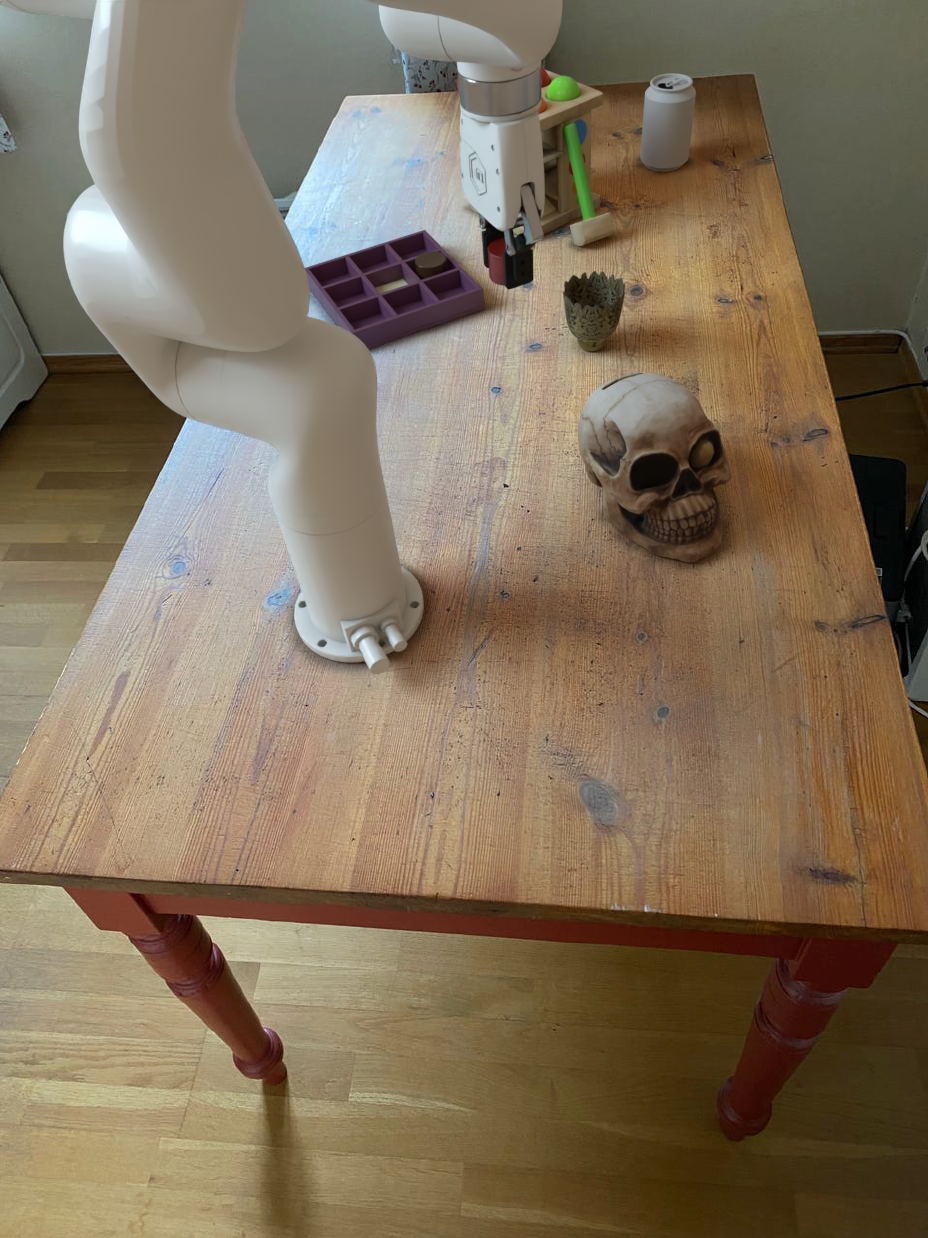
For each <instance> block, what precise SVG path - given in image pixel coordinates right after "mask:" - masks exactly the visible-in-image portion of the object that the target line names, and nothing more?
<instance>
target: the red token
mask: <svg viewBox="0 0 928 1238" xmlns="http://www.w3.org/2000/svg"><path fill="white" fill-rule="evenodd" d="M515 238H516V236H514V239H515ZM503 252H506V244H505V237H503V238H499V239H496V240H494V241H493V242H491V243H490V244H489V246H488V262H489V268H488V273H489V274H488V277H489V279H490V281H491V282H492V283H494V284H495V285H499V286H503V287H505V286H504V268H503Z"/></svg>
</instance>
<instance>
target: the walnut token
mask: <svg viewBox="0 0 928 1238" xmlns="http://www.w3.org/2000/svg"><path fill="white" fill-rule="evenodd" d="M415 265H416V273H417V276H418V277H419V278H420V279H421V280H423V279H426V278H429V277H432V276H435V275H438V274H441V273H444V272H447V266H446V257H445V255H444V254H442V253H440V252H434V251H432V252H425V253H422V254H420V255H419V256H417V257H416V259H415Z"/></svg>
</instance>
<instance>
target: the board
mask: <svg viewBox="0 0 928 1238" xmlns="http://www.w3.org/2000/svg"><path fill="white" fill-rule="evenodd" d="M432 251H434V252H440V253H442V254H444V255H445V257H446V266H447V272H444V273H441V274H438V275H435V276H432V277H429V278H426V279H423V280H421V279H420V278H419V277H418V276H417V273H416V265H415V259H416V257H417V256H419V255H420V254H422V253H425V252H432ZM305 270H306V273H307V277H308V282H309V288H310V293H311V294H312V295H313V296H314V298H315V299H316V300H317V302H318V303H319V305H320V306H321V308H322V309H323V310H324V311H325V313H326V315H328V317H329V319H330V320H331V321H332V323H333V324H334V325H337V326H340V327H342V328H344V329H346V330H347V331H349V332H351V333H352V334H354V335H355V336H356V337H357V338H359V339H360V340H361V341H362V342H363V343H364V344H365V345H366V347H367V348H368V349H369V350H371V349H373V348H375V347H378V346H381V345H385V344H387V343H390V342H393V341H396V340H399V339H402V338H405V337H408V336H411V335H413V334H416V333H419V332H422V331H425V330H427V329H428V330H429V329H431V328H435V327H437V326H440V325H443V324H445V323H448V322H451V321H455V320H457V319H460V318H462V317H466V316H468V315H471V314H474V313H477V312H481V311H482V310H485V299H484V297H485V296H484V288H483V287H482V286H481V285H480V284H479V283H478V282H477V281H476V279H474V278H473V277H472V276H471V275H470V274H469V273H468V272H467V271H466V270H465V269H464V267H462V266H461V265H460V264H459V263H458V262H457V261H456V260H455V259H454V258H453V257H452V256H451V255H450V254H449V252H448V251H446V249H444V247H442V245H440V244H439V243H438V241H436V240H435V238H433V236H432V235H430V233H429V232H427V230H426V229H423V230H419V231H416V232H414V233H410V234H406V235H404V236H401V237H398V238H395V239H392V240H388V241H385V242H382V243H379V244H376V245H373V246H368V247H365V248H363V249H360V250H357V251H353V252H349V253H347V254H344V255H341V256H338V257H335V258H331V259H328V260H325V261H322V262H318V263H316V264H312V265H310V266H306V267H305Z"/></svg>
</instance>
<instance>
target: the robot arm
mask: <svg viewBox="0 0 928 1238" xmlns="http://www.w3.org/2000/svg"><path fill="white" fill-rule="evenodd" d="M248 1H249V0H0V6H2V7H5V8H8V9H11V10H14V11H16V12H19V13H24V14H25V13H26V14H31V15H39V16H51V17H62V18H73V19H84V20H92V26H91V31H90V39H89V46H88V52H87V57H86V65H85V71H84V77H83V83H82V88H81V96H80V104H79V113H78V138H79V144H80V150H81V153H82V157H83V160H84V162H85V166H86V168H87V170H88V171H89V174H90V176H91V179H92V181H93V184H92V185H90V186H89V187H87V188H86V189H84V191H83V192H81V194H79V196H78V197H77V198H76V200H75V201H74V202H73V204H72V206H71V208H70V209H69V211H68V215H67V217H66V221H65V225H64V230H63V240H62V241H63V244H62V245H63V258H64V264H65V268H66V273H67V276H68V279H69V282H70V285H71V288H72V290H73V292H74V295H75V296H76V298H77V300H78V302H79V305H80V306H81V307H82V309H83V310H84V311H85V313H86V315H87V317H88V318H89V319H90V320H91V321H92V323H93V324H94V325H95V326H96V327H97V329H98V330H99V331H100V332H101V333H102V335H103V336H104V337H105V338H106V340H107V341H108V342H109V343H110V344H111V346H112V347H113V348H114V349H115V350H116V351H117V353H118V354H119V355H120V356H121V357H122V358H123V360H124V361H125V362H126V363H127V364H128V366H129V367H130V368H131V370H132V371H133V372H134V373H135V374H136V375H137V376H138V378H140V380H141V381H142V382H143V383H144V384H145V385H146V387H147V388H148V389H149V390H150V391H151V393H152V394H154V396H155V397H156V398H157V399H158V400H159V401H160V402H162V403H163V404H164V405H165V406H166V407H167V408H169V409H170V410H171V411H173V412H175V413H176V414H178V415H180V416H182V417H184V418H186V419H189V420H191V421H195V422H197V423H200V424H203V425H208V426H211V427H214V428H217V429H221V430H225V431H229V432H233V433H236V434H238V435H239V434H240V435H243V436H245V437H247V438H250V439H251V438H252V439H255V440H258V441H261V442H264V443H266V444H268V445H269V446H271V447H273V449H274V450H276V452H277V455H276V456H275V458H274V459H273V462H272V464H271V466H270V468H269V472H268V475H267V491H268V496H269V499H270V503H271V505H272V509H273V512H274V514H275V516H276V519H277V522H278V524H279V528H280V531H281V533H282V536H283V540H284V542H285V545H286V549H287V551H288V554H289V558H290V561H291V563H292V567H293V569H294V572H295V575H296V579H297V582H298V584H299V587H300V590H301V591H300V592H299V594H298V597H297V599H296V601H295V605H294V613H293V618H294V623H295V627H296V630H297V633H298V635H299V637H300V639H301V640H302V642H303V644H304V645H305V646H307V648H308V649H310V650H311V651H312V652H314V653H315V654H317V655H319V656H320V657H322V658H325V659H328V660H331V661H333V662H334V661H335V662H341V663H362V662H365V664H366V665H367V667H368V669H369V671H370V673H371V674H373V675H380V674H383V673H385V672H386V671H387V670H388V669H389V668H390V667H391V661H390V659H389V657H388V656H387V655H388V654H391V653H393V652H397V653H400V652H403V651H404V650H406V649H407V647H408V641H409V640H410V639H411V638H412V637H413V635H414V634H415V633H416V631H417V629H418V628H419V626H420V624H421V621H422V619H423V615H424V610H425V602H424V601H425V599H424V595H423V590H422V588H421V587H422V586H421V585H420V582H419V580H418V579H417V578H416V577H415V576H414V574H413V573H412V572H411V571H409V569H407V568H406V567H404V566H403V565H401V560H400V553H399V550H398V549H399V548H398V545H397V539H396V534H395V529H394V524H393V519H392V514H391V509H390V505H389V499H388V495H387V489H386V484H385V480H384V475H383V469H382V464H381V457H380V451H379V443H378V430H377V413H378V412H377V408H378V373H377V365H376V362H375V359H374V356H373V355H372V353H371V351H370V349H368V348H367V347H366V345H365V344H364V343H363V342H362V341H361V340H360V339H359V338H357V337H356V336H355V335H354V334H352V333H351V332H349V331H347V330H346V329H344V328H342V327H340V326H337V325H335V324H334V323H333V322H332V323H331V322H329V321H327V320H323V319H319V318H315V317H313V316H312V317H311V316H308V315H309V312H310V302H311V291H310V288H309V282H308V277H307V273H306V270H305V268H306V267H305V263H304V261H303V258H302V256H301V254H300V251H299V249H298V247H297V244H296V242H295V240H294V238H293V236H292V233H291V232H290V229H289V228H288V225H287V224H286V222H285V220H284V217H283V215H282V213H281V211H280V209H279V207H278V205H277V203H276V201H275V198H274V196H273V195H272V192H271V190H270V189H269V187H268V185H267V183H266V180H265V179H264V176H263V174H262V172H261V169H260V168H259V165H258V164H257V162H256V160H255V157H254V156H253V153H252V151H251V149H250V146H249V144H248V141H247V139H246V137H245V134H244V132H243V130H242V126H241V123H240V120H239V115H238V111H237V100H236V99H237V98H236V82H237V67H238V66H237V65H238V60H239V59H238V58H239V51H240V45H241V39H242V33H243V27H244V22H245V16H246V12H247V11H246V10H247V7H248ZM364 1H365V2H368V3H371V4H375V5H377V6H378V15H379V22H380V25H381V27H382V30H383V32H384V35H385V37H386V38H387V40H388V41H389V42H390V44H391V45H393V46H394V47H395V49H396V50H398V51H400V52H401V53H402V54H405V55H407V56H410V57H412V58H417V59H422V60H429V61H440V62H450V63H452V62H453V63H456V69H457V77H458V83H459V93H458V96H459V107H460V116H459V117H460V118H459V156H460V157H459V158H460V177H461V180H460V181H461V190H462V191H461V192H462V194H463V196H464V199H465V200H466V201H467V202H468V203H469V205H470V204H471V205H472V206H473V207H474V208H475V209H476V210H477V211H478V212H479V213H478V214H479V215H478V222H479V227H480V228H481V230H482V231H481V243H482V244H481V245H482V258H483V265H484V267H485V268H487V269H489V262H488V246H489V244H490V243H491V242H493V241H494V240H496V239H499V238H503V237H505V244H506V252H503V268H504V286H503V287H505V288H506V289H507V290H512V289H513V290H514V289H516V288H518V287H519V288H520V287H521V286H524V285H527V284H530V283H533V281H534V278H535V276H534V273H535V272H534V249H535V248H536V243H537V242H539V241H542V240H543V239H544V236H545V234H543V230H542V226H541V222H540V219H541V218H542V216H543V213H544V204H545V182H544V162H543V149H542V138H541V129H540V121H539V114H538V111H537V110H538V109H539V108H540V106H541V104H542V96H541V95H542V86H541V68H542V61H543V59H545V58H546V56H547V55H548V54H549V53H550V52H551V50H552V48H553V46H554V45H555V43H556V41H557V38H558V35H559V32H560V28H561V24H562V17H563V4H564V3H563V0H363V2H364ZM519 213H521V217H518V214H519ZM517 217H518V218H517ZM521 226H524V232H523V233H521V234H518V235H517V234H516V236H515V233H514V232H513V229H515V228H518V227H521ZM514 237H516V238H515V239H514Z"/></svg>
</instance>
